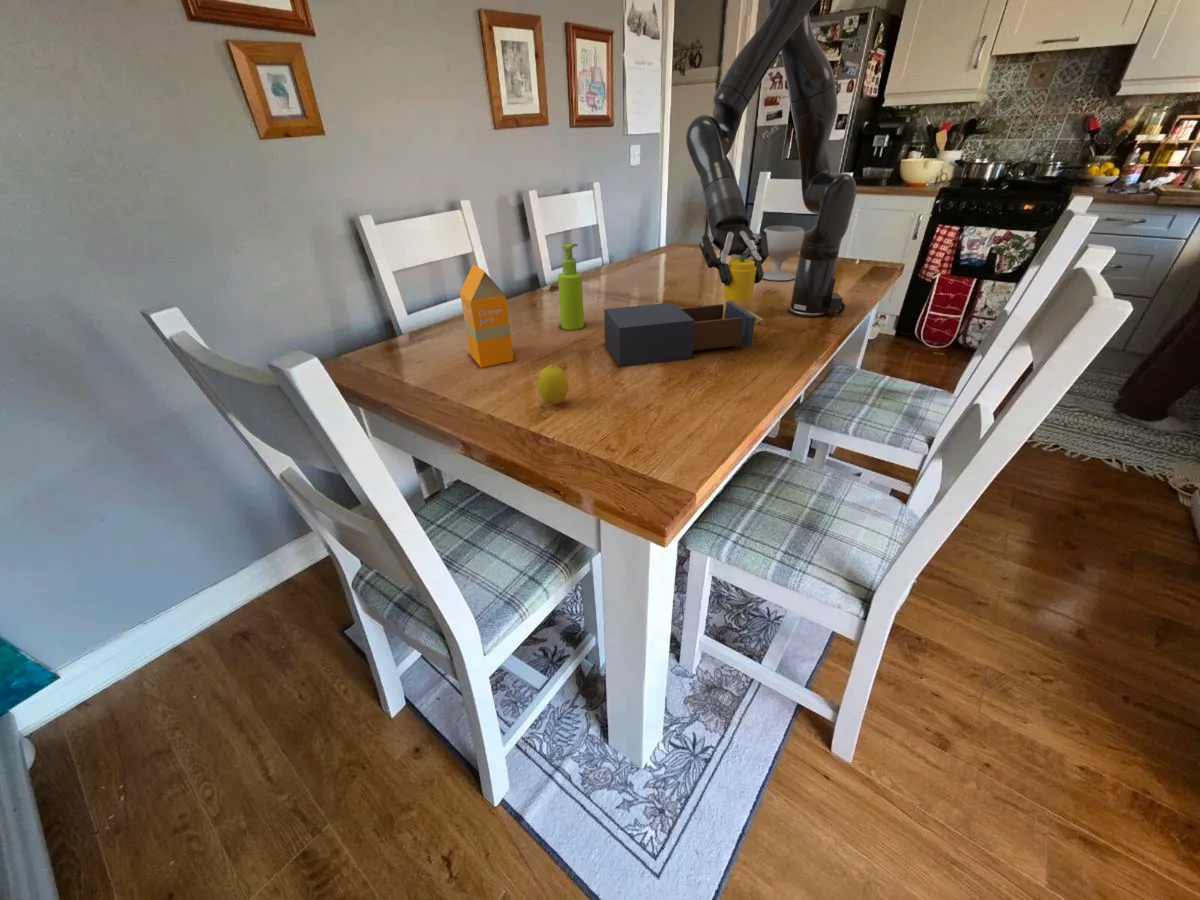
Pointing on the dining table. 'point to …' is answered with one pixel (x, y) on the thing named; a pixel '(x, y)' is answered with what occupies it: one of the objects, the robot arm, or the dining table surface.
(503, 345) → the orange juice
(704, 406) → the dining table surface
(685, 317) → the cabinet
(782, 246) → the chalice
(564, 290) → the soap dispenser
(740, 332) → the drawer
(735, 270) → the yellow cylinder
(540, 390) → the lemon
